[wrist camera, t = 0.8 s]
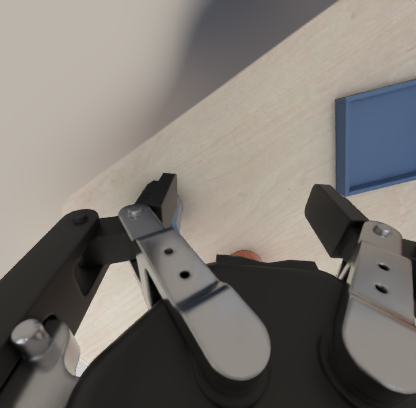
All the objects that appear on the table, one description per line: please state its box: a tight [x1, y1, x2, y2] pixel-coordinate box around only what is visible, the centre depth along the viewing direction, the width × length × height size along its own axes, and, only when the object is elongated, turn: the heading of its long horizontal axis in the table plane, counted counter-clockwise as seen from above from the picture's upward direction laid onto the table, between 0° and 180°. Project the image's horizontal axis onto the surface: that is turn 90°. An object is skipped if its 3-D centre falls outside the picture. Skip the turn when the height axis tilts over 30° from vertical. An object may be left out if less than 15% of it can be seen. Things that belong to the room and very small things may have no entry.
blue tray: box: [336, 79, 416, 197], centre depth 28 cm, size 13×13×2 cm
